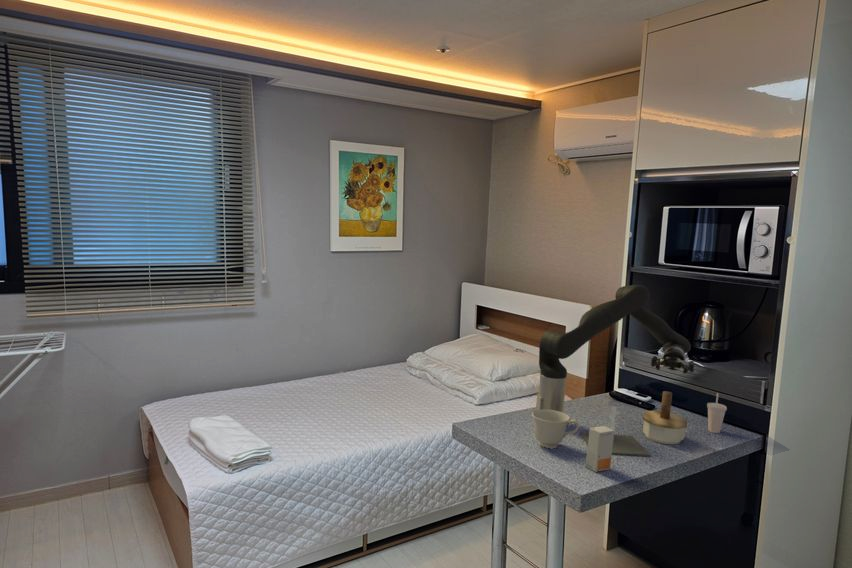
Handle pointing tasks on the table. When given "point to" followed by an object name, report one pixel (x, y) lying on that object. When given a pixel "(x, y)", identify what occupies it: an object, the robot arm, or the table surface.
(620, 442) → the mat
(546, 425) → the teacup
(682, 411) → the table surface
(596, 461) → the skincare box
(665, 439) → the bowl
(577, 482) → the table surface
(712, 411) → the smoothie
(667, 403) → the lid
